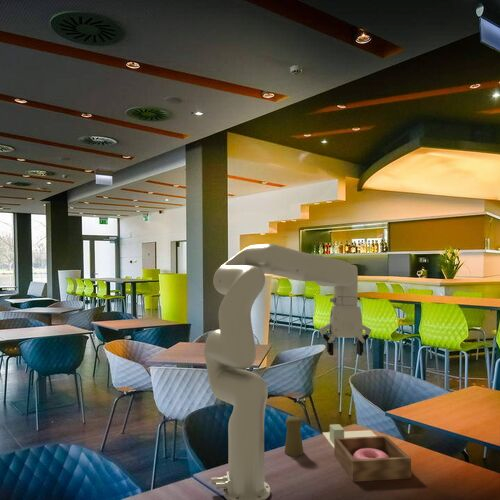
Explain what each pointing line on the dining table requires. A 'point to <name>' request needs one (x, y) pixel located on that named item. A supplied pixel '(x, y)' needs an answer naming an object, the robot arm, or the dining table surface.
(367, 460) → the open wooden box
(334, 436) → the lid
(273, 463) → the dining table surface
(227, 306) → the robot arm
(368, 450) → the doughnut
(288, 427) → the cork
